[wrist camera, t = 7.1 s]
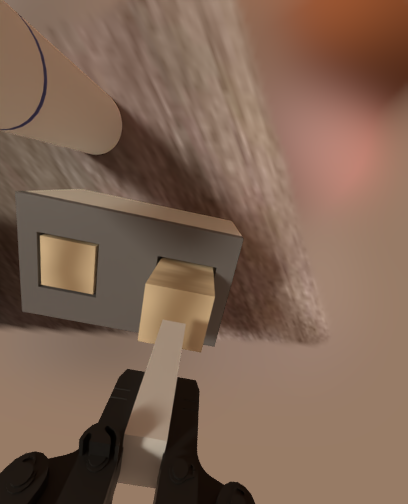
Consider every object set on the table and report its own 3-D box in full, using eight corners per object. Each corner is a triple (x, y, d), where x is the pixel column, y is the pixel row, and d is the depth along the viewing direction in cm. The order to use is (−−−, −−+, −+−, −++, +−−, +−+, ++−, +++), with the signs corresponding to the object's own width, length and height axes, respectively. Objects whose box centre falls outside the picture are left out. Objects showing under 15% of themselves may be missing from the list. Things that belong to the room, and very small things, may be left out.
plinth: (78, 272, 31) (22, 311, 22) (81, 189, 28) (15, 191, 18) (212, 298, 32) (214, 346, 23) (231, 220, 29) (243, 238, 19)
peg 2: (159, 291, 24) (137, 340, 17) (166, 250, 23) (145, 283, 15) (203, 299, 24) (200, 352, 17) (212, 259, 23) (215, 296, 15)
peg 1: (85, 257, 28) (41, 284, 21) (87, 221, 27) (40, 235, 19) (123, 265, 29) (92, 294, 21) (127, 229, 27) (95, 246, 20)
